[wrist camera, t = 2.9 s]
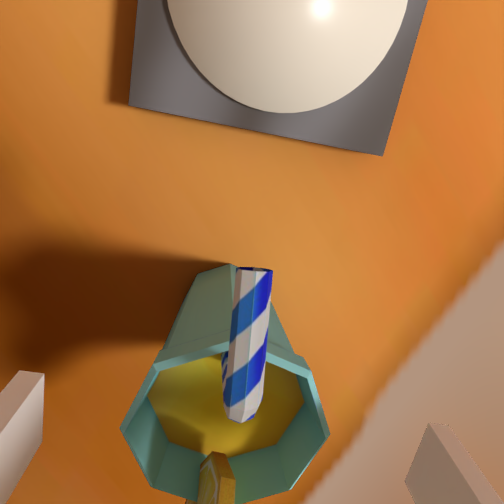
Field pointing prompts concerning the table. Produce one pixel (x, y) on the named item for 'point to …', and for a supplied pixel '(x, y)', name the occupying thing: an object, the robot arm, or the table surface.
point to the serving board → (278, 65)
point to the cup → (226, 397)
